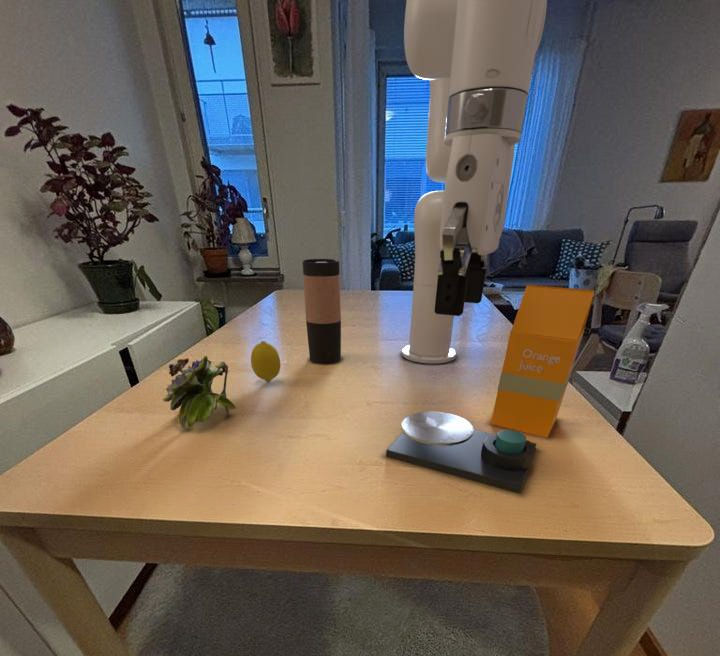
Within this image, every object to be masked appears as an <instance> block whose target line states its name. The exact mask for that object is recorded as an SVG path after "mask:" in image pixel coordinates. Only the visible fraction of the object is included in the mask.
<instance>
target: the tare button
mask: <svg viewBox="0 0 720 656" xmlns="http://www.w3.org/2000/svg"><path fill="white" fill-rule="evenodd" d="M496 434H497V438H496V443H495V448H496V449H498V450H500V451H502V452H506V453H510V454H520V453H522V452H523V450H524V446H525V443H526V440H527V437H526V435H525V434H524V433H523V432H521V431H518V430H514V429H504V430H500V431H499V432H497V433H496Z"/></svg>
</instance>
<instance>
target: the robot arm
mask: <svg viewBox="0 0 720 656" xmlns="http://www.w3.org/2000/svg"><path fill="white" fill-rule="evenodd" d="M405 3H406V4H405V11H404V12H405V13H404V25H403V46H404V55H405V60H406V63H407V66H408V69H409V70H410V72H411V74H413V76H415V77H416V78H419V79H422V80H428V81H429V104H428V105H429V106H428V120H427V132H426V133H427V134H426V146H425V147H426V148H425V168H426V169H425V170H426V175H427V177H428V178H429V179H430V180H431V181H433V182H435V183H441V184H445V185H444V190H435V191H430V192H427V193H425V194H423V195H422V196H421V197H420V198H419V199H418V200H417V202H416V205H415V208H414V212H413V213H414V214H413V229H414V230H413V231H414V271H413V272H414V273H413V287H412V298H411V299H412V300H411V315H410V327H409V329H410V330H409V340H408V345H406V346H405V347H403V348H402V349H401V356H402V357H403V358H405V359H406V360H408V361H411V362H414V363H419V364H431V365H433V364H435V365H436V364H444V363H449V362H452V361H453V360H455V359H456V357H457V352H456V350H455V349H454V348H452V347H451V343H452V336H453V327H454V320H455V317H460V316H462V315H463V314H464V308H465V303H467V304H480V303H481V302H482V300H483V294H484V293H483V292H484V287H485V280H486V275H487V266H488V255H490V254H492V253H494V252H495V251H496V250H497V249H499V245H500V239H501V236H502V234H503V229H504V225H505V220H506V214H507V206H508V200H509V192H510V185H511V178H512V171H513V165H514V164H513V163H514V156H515V149H516V148H515V147H516V145H517V144H518V143H520V142H521V140H522V139H521V138H522V133H523V128H524V127H523V126H524V120H525V115H526V110H527V104H528V98H529V93H530V88H531V81H532V77H533V76H532V75H533V69H534V64H535V59H536V58H535V57H536V53H537V52H538V50H539V47H540V43H541V40H542V38H543V37H542V36H543V32H544V28H545V24H546V15H547V7H548V0H406V2H405Z"/></svg>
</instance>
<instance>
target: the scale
mask: <svg viewBox="0 0 720 656" xmlns="http://www.w3.org/2000/svg"><path fill="white" fill-rule="evenodd" d="M473 430H474V431H473V435H472V437H471V438H470V439H469V440H468V441H466V442H464V443H461V444H457V445H451V446H435V445H428V444H424V443H420V442H418V441H415V440H413V439H411V438H409V437H408V436H407V435H405V434H404V432H403V431H402V433H401V434H400V435H399V436H398V437H397V439H395V441H393V443H391V444H390V446H389V447H387V449H386V452H385V453H386V454H385V457H386V458H389V459H393V460H396V461H400V462H403V463H407V464H411V465H415V466H419V467H421V468H425V469H428V470H433V471H435V472H436V471H437V472H440V473H443V474H446V475H451V476H455V477H458V478H461V479H466V480H469V481H472V482H476V483H480V484H483V485H487V486H490V487H494V488H497V489H502V490H505V491H510V492H513V493H516V494H521V492H522V489H523V486H524V483H525V480H526V478H527V475H528V471H529V469H530V468H531V467H532V465H533V462H534V459H535V455H536V452H537V442H532V441H529V440H527V439H526V443H525V446H524V450H523V452H522V453H520V454H510V453H506V452H502V451H500V450H498V449H496V448H495V443H496V438H497V434H498V433H490V432H487V431H482V430H477V429H473Z"/></svg>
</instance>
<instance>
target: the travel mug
mask: <svg viewBox="0 0 720 656" xmlns="http://www.w3.org/2000/svg"><path fill="white" fill-rule="evenodd" d="M340 264H341V263H340V260H336V259H334V258H308V259H303V260H302V274H303V288H304V289H303V290H304V291H303V294H304V307H305V308H304V309H305V310H304V311H305V324H306V333H307V343H308V344H307V345H308V354H309V360H310V362H311V363H314V364H319V365H329V364H335V363H338V362H340V361H341V358H342V303H341V275H340V274H341V272H340Z"/></svg>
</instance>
